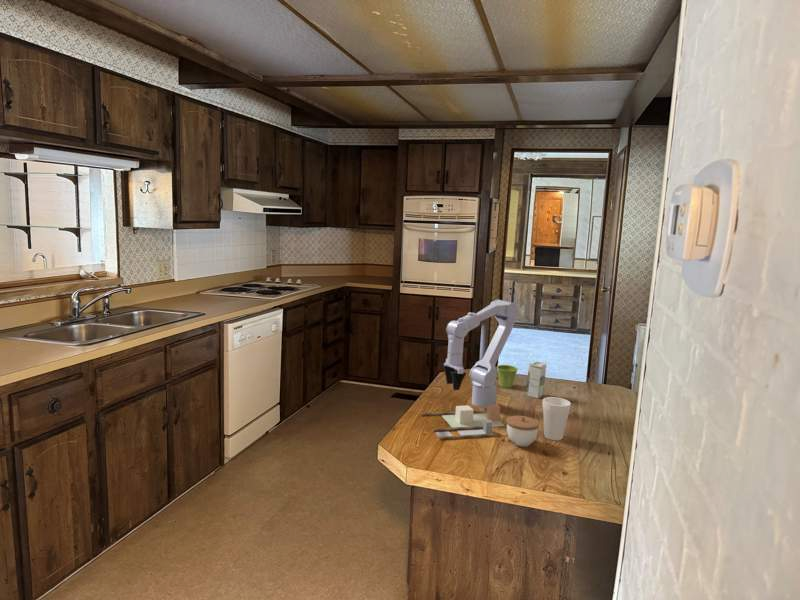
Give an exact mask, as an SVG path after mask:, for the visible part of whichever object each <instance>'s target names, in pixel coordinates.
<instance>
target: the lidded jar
mask: <svg viewBox="0 0 800 600" xmlns="http://www.w3.org/2000/svg"><path fill="white" fill-rule="evenodd" d="M539 427H540V422H539V421H538V420H537V419H535V418H533V417H530V416H527V415H526V416H525V415H513V416H509V417H508V418H507V419H506V433H507V437H508V438H509V440H510V441H511V443H512V444H513V445H515V446H518V447H529V446H530V445H531V444H532V443H534V442H535V441H536V439H537V437H538V433H539Z"/></svg>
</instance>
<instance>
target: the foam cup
mask: <svg viewBox="0 0 800 600" xmlns="http://www.w3.org/2000/svg"><path fill="white" fill-rule="evenodd" d="M541 405H542V412H543V416H542V417H543V432H544V433H543V435H544V437H545V438H546V439H547V438H548V439H547V440H550V439H551V441H561V439H562V440H563V439H564V434H565V432H566V427H567V423H568V418H569V413H570V411H571V406H572V403H571V401H569V400H568V399H565V398H562V397H558V396H557V397H555V396H554V397H553V396H548V397H544V398H543V399H542V404H541Z"/></svg>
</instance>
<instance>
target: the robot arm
mask: <svg viewBox="0 0 800 600" xmlns="http://www.w3.org/2000/svg"><path fill="white" fill-rule="evenodd" d="M519 314H520V312H519V307H518V304H517V303H516V302H510V301H507V300H501V299H495V300H494V301H493V300H492V301H491V302H490V304H489V305H487V306H485V307H484V308H483V309H481V310H480V311H478V312H476V313H475V312H470V311H469V312H468V313H467V315H464V316H462V317H459V318H458V319H457V320H450V321H449V322H448V323H447V326H446V327H445V331H446V332H445V333H446V334H447V338H448V339H447V340H448V342H447V343H448V345H447V358H445V362H443V365H442V368H443V371H444V374H445V381H446V384H447V385H452V389H453V391H460V388H461V386H462V382H463V380H464V378H465V376H467V373H466V372H465V370H464V369H465V368H464V365H463V353H464V342H465V340H464V339H465V337H467V335H468V334H469V333H468V332H470V331H472V330H474V329H476V328H477V327H479V326H480V324H481V322H482V321H484V320H486V319H489V318H490V317H491V318H492V317H493V316H494V318H495V319H496V321H497V323H498V325H497V329H496V330H495V332H494V335H493V336H492V338H491V341H490V343H489V345H488V347H487V349H486V351H485V353H484V356H483V358H482V359H480V360H478V361H476V362H475V364H474V365H473V366H472V367H471V369H470V371H469V379H470V380H471V384H472V389H471V392H472V393H471V404H472V405H473V406H476V407H479V408H480V407H481V408H482V409H483V410H487V405H496V404H497V400H498V399H497V398H498V389H497V386H496V385H495V383H496V381H497V380H496V377H497V374H498V369H497V366H496V364H497V362H498V359H499V357H500V356H501V354H502V351H503V350H504V347H505V345H506V343H507V340H508V339H509V337H510V335H511V332H512V330H513V329H514V325H515V323H516V320H517V318H518V316H519Z"/></svg>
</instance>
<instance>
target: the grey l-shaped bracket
mask: <svg viewBox="0 0 800 600" xmlns="http://www.w3.org/2000/svg"><path fill="white" fill-rule="evenodd" d="M457 433H458V434H459V436H460V435H476V434H491V433H493V422H492V421H491V420H484V425H483V429H474V430H457Z"/></svg>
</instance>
